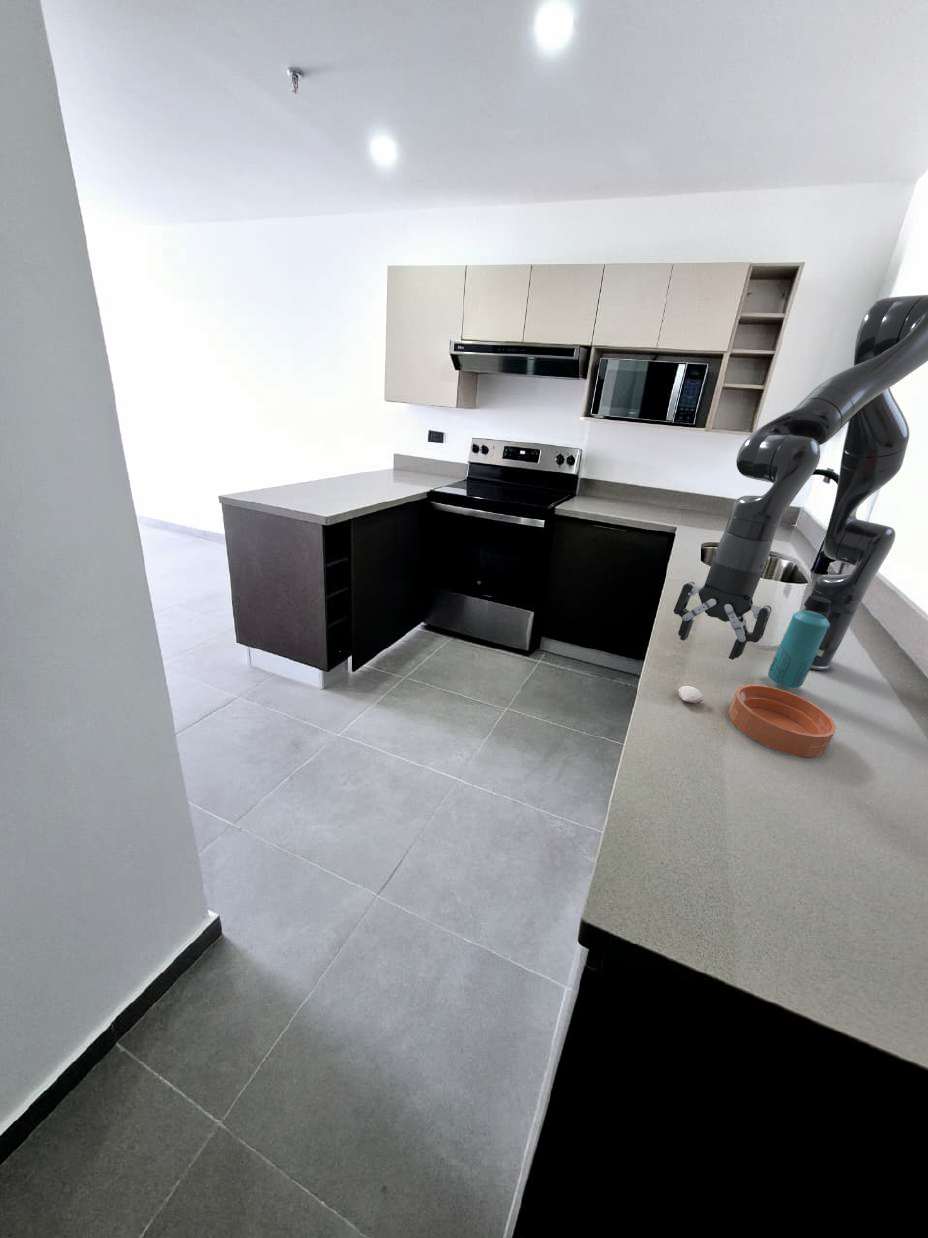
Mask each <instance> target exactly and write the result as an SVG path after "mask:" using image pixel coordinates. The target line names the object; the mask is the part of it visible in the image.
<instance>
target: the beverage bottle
mask: <svg viewBox="0 0 928 1238" xmlns="http://www.w3.org/2000/svg"><path fill="white" fill-rule="evenodd" d="M831 604H832V602H831V601H830V600H828V599H826V598H823V597H819V596H813V595H811V596H809V595H808V596H807V599H806V600H805V601H804V604H803V607H804V606H805V607H807V608H809V609H812V610H815V611H819V612H829V610H830V606H831ZM829 626H830V623H829V622H828V620H827V618H826V617H825V616H823V615H821V614H819V613H816V612H812V611H807V610H803V609H802V610H799V611H796V612H794V613H793V614H792V616H791V619H790V622H789V624H788V626H787V628H786V631H785V633H783V634H784V635H783V636H782V639H781V641H780V644H779V645H778V646H779V647H777V649H776V652H775V655H774V656H773V658H772V662H771V663H770V665H769V668H768V671H767V676H768V678H769V680H771V681H772V682H774V683H776V684H778V685H780V686H782V687H784V688H785V687H786V688H790V689H799V688H801V687H802V686H803V685H804V683H805V681H806V679H807V677H808V674H809V673H810V671H811V670H812V669H811V668H810V667H811V664H812V663H813V660H814V658H816V657H815V656H816V654H817V651H818V649H819V647H820V644H821V642H822V640H823V638H824V636H825V633H826V631H827V629H828V627H829Z"/></svg>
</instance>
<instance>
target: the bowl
mask: <svg viewBox="0 0 928 1238" xmlns="http://www.w3.org/2000/svg"><path fill="white" fill-rule="evenodd" d="M728 717H729V718H730V720H731V722H732V724H733V725H735V726H736V728H738V729H739V730H740V731H741V732H742V733H743V734H745V735H746V736H748V737H750V738H751V739H752V740H754V741H755V742H758V743H760V744H762V745H763V746H766V747H768V748H770V749H772V750H775V751H778V752H781V753H784V754H787V755H792V756H797V757H802V758H803V757H804V758H806V757H807V758H808V757H818V756H820V755H822V754H824V753H825V751H826V750H827V748H828V747H829V744H830V743H831V741H832V738H833V737H834V736H835V733H836V730H837V726H836V723H835V721H834V719H833V718H832V717H831V716H830V715H829V714H828V713H827V712H826V711H825V710H823V709H822V708H820V707H819V706H818V705H816V704H815V703H813V702H811V701H809V700H807V699H806V698H804V697H802V696H799V695H797V694H794V693H793V692H790V691H788V690H784V689H781V688H777V687H774V686H770V685H763V684H744V685H741V686H739V687H738V688H737V689H736V690H735V693H734V695H733V697H732V700H731V702H730V705H729V706H728Z"/></svg>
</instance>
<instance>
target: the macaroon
mask: <svg viewBox="0 0 928 1238" xmlns="http://www.w3.org/2000/svg"><path fill="white" fill-rule="evenodd" d="M677 692H678V696H679V697H680V699H681V700H682V701H684V702H687V703H689V704H700V703H701V702H702V701H703V699H704V695H703V693H702V692H701V691H700V690H699V689H698V688H696V687H694V686H691V685H682V686H680V688H679V689H678V691H677Z"/></svg>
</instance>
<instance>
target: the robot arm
mask: <svg viewBox="0 0 928 1238" xmlns="http://www.w3.org/2000/svg"><path fill="white" fill-rule="evenodd" d="M853 356H854V357H853V366H850V367H849V368H846V369H844V370H842V371H840V372H838V373H836V374H834V375H832V376H830V377H829V378H827V379H826V380H824V381H823V382H821V383H820V384H819V385H817V386H816V387H815V388H814V389H813V390H812V391H811V392H810V393H808V395H806V397H804V398H803V400H801V401H800V402H799V403H798V404H797V405H796V406H795V407H794V408H793V409H791V410H789V411H787V412H785V413H782V414H781V415H779V416H778V417H776V418H775V419H772V420H771V421H769V422H767V423H765V424H763V425H762V426H761V427H759V428H757V429H756V430H755V431H753V432H752V433H751V434H750V435H749V436H748V437H747V438H746V439H745V440H744V442H742V444H741V446H740V447H739V450H738V452H737V455H736V458H735V459H736V461H735V462H736V463H735V464H736V468H737V470H738V473H740V474H741V475H742V477H743V476H744V477H746V478H747V479H752V480H756V481H761V482H766V483H772V485H771V487H770V488H769V490H767V491H766V492H765V493H764V494H763V495H743V496H740V497H738V498H736V500H735V502H734V503H733V506H732V508H731V512H730V514H729V518H728V520H727V523H726V526H725V529H724V532H723V534H722V536H721V538H720V539H719V542H718V544H717V547H716V549H715V551H714V554H713V559H712V561H711V564H710V567H709V570H708V573H707V576H706V578H705V582H704V585H703V586H700V585H697V584H695V582H694V581H689V582H686V583H685V584H683V585H682V588H681V591H680V593H679V595H678V598H677V601H676V604H675V606H674V608H673V614H674V615H678V616H679V617H680V618H681V624H680V626H679V628H678V629H679V630H678V632H677V633H678V634H677V635H678V636H679V640H680V641H682V642H685V641H686V640H687V639H688V637H689V635H690V632H691V629H692V627H693V623H694V621H695V620H694V618H695V617H697V616H699V615H701V614H702V613H705V614H706V615H707V617H709V618H710V617H711V618H716V619H718V620H719V621H721V622H724V623H727V622H729V623H730V626H731V628H732V629H733V630H734V632H735V635H736V639H735V641H734V643H733V646H732V648H731V651H730V653H729V656H728V660H729V659H730V660H732V661H734V660H735V659H738V658H740V657H741V655H743V652H744V650H745V648H746V645H747V643H749V642H751V643H755V644H756V643H758V642H759V641H760V640H761V639H763V637H764V635H765V630H766V627H767V625H768V621H769V618H770V615H771V612H772V607H771V606H770V605H764V606H763V605H759V604H755V603H754V601H753V598H754V595H755V592H756V591H757V587H758V585H759V582H760V580H761V578H762V574H763V572H764V570H765V567H766V565H767V562H768V559H769V557H770V555H771V554H770V553H771V550H772V545H773V542H774V539H775V536H776V534H777V532H778V529H779V526H780V524H781V521H782V519H783V517H784V514H785V513H786V511H788V509H789V507H790V505H791V504H792V503H793V501H794V499H795V498H796V497H797V495H798V494H799V493H800V491H801V490H802V489H803V487H804V486H805V485H806V483H808V481H809V479H810V478H811V477H812V475H813V474H814V472H816V469H817V468H818V465H819V463H820V460H821V447H820V446H822V445H825V443H827V442H829V440H831V439H832V438H834V436H835V435H836V434H837V433H838V432H840V430H841V429H842V428H843V427H845V426H846V424H847V427H846V432H845V436H844V441H843V446H842V452H841V457H840V466H839V475H838V481H837V488H836V492H835V498H834V503H833V506H832V510H831V514H830V518H829V520H828V525H827V528H826V532H825V536H824V540H823V553H824V555H825V557H827V558H829V559H831V560H834V561H837V562H841V563H843V564H846V565H851V566H854V568H853V570H852V572H850V573H845V574H822V575H819V576H818V577H817V578H816V579H815V581H814V583H813V586H812V588H811V590H810V593H809V594H808V597H809V596H811V595H813V596H819V597H823V598H826V599H828V600H830V601H831V602H832V604H831V606H830V610H829V612H819V611H815V610H812V609H809V608H807V607H805V606H804V605H803V608H802V610H807V611H812V612H816V613H819V614H821V615H823V616H825V617H826V618H827V620H828V622H829V623H830V626H829V627H828V629H827V631H826V633H825V636H824V638H823V640H822V642H821V644H820V647H819V649H818V651H817V654H816V656H815V657H816V658H814V660H813V663H812V664H811V667H810V668H811V669H810V670H814V671H815V670H816V671H828V670H829V668H830V666H831V663H832V661H833V659H834V657H835V655H836V654H837V651H838V649H839V647H840V645H841V643H842V641H843V639H844V638H845V636H846V634H847V632H848V630H849V627H850V625H851V623H852V622H853V620H854V618H855V616H856V613H857V611H858V609H859V608H860V605H861V603H862V602H863V600H864V597H865V595H866V593H867V592H868V591H869V588H870V587H871V585H872V583H873V581H874V579H875V577H876V576H877V574H878V572H879V570H880V568H881V567H882V565H883V563H884V562H885V559H886V558H887V557H888V555H889V553H890V551H891V549H892V548H893V545H894V543H895V540H896V530H895V528H893V527H891V526H888V525H884V524H880V523H876V522H871V521H867V520H863V519H858V518H857V511H858V509H859V507H860V506H861V505H862V504H863V503H864V502H865V501H866V500H868V498H870V496H872V495H873V494H875V493H876V492H878V491H879V490H880V489H881V488H883V487H884V486H885V485H887V484H888V483H889V482H890V481H891V480H893V479H894V478H895V476H896V475H897V474H898V473H899V472H900V470H901V469H902V467H903V464H904V460H905V456H906V452H907V449H908V444H909V440H910V428H909V423H908V421H907V419H906V417H905V415H904V412H903V411H902V410H901V407H900V405H899V404H898V402H897V400H896V399H895V396H894V395H893V393H892V390H891V387H893V386H894V385H896V384H897V383H899V382H901V381H902V380H903V379H905V378H906V377H907V376H909V375H910V374H912V373H913V372H914V371H916V370H918V369H919V368H920V367H921V366H923V365H924V364H926V363H927V362H928V294H920V295H919V294H918V295H902V296H892V297H884V298H880V299H878V300H876V301H875V302H874V303H872V304H871V305H870V306H869V308H868V309H867V310H866V312H865V313H864V315H863V317H862V320H861V322H860V325H859V328H858V331H857V335H856V339H855V345H854V355H853ZM696 594H698V597H699V600H700V603H701V604H700V605H698V606H696V607H695V608H693V609H691V610H690V611H689V609H688V608H687V607H688V604H689V601H690V599H691V597H694V596H695V595H696ZM749 612H752V613H753V615H752V616H753V619H755V623H754V626H753V630H752V632H751V631H749V629H748V626H747V620H746V618H745V616H744V615H745V614H747V613H749Z"/></svg>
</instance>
